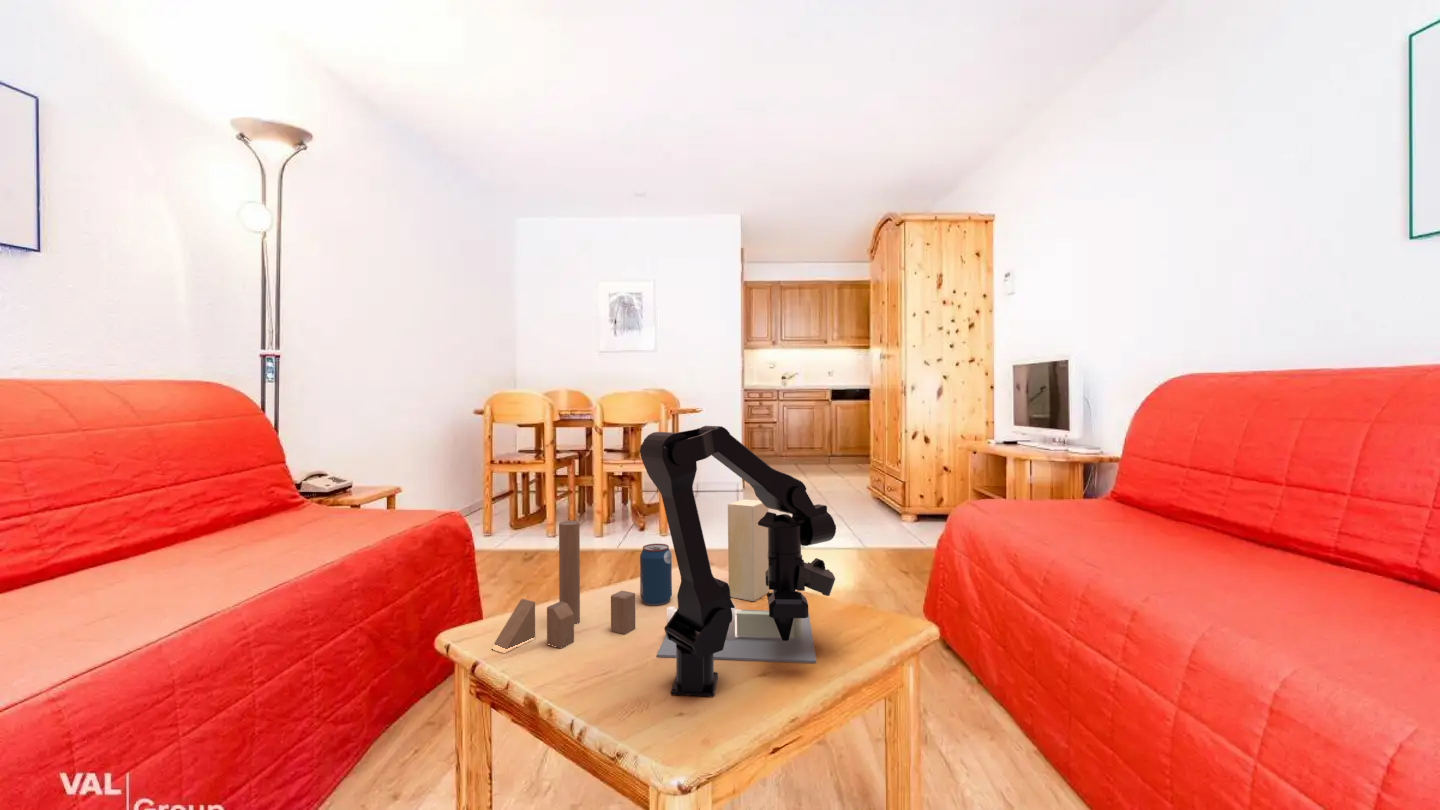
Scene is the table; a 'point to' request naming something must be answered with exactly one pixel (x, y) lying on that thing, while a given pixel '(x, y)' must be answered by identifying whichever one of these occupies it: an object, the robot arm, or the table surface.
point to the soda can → (655, 574)
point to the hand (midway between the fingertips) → (785, 639)
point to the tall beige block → (747, 550)
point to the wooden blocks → (565, 601)
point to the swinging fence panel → (763, 625)
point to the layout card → (754, 645)
